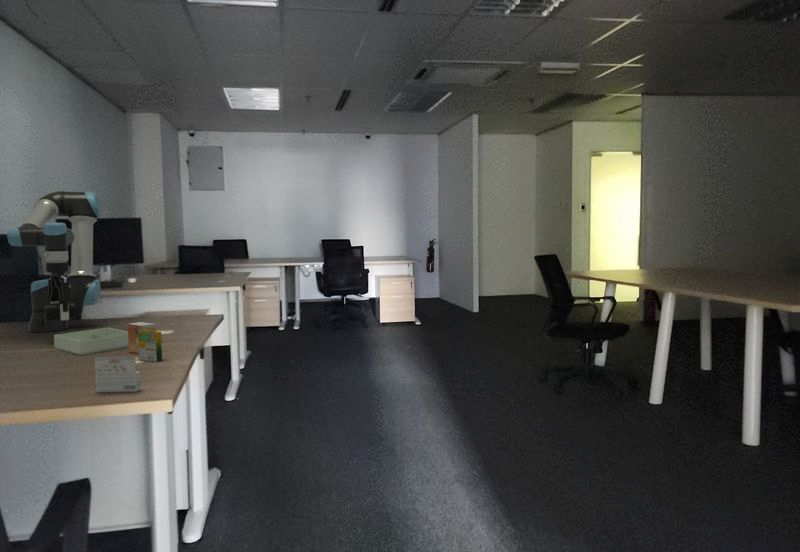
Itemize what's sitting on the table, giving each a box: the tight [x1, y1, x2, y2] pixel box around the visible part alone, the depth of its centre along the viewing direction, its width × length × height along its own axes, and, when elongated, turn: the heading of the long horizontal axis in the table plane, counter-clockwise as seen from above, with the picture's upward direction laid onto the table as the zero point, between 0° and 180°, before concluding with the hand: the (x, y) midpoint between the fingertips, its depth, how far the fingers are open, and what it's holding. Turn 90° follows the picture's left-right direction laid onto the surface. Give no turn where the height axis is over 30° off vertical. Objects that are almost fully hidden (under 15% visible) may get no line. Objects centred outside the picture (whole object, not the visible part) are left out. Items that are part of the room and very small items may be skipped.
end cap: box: [44, 302, 77, 321], centre depth 208 cm, size 10×7×7 cm
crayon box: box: [138, 326, 163, 362], centre depth 177 cm, size 7×3×12 cm, turn 74°
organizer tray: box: [53, 327, 129, 356], centre depth 199 cm, size 22×20×5 cm
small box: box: [127, 321, 156, 355], centre depth 190 cm, size 8×6×10 cm
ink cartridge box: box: [93, 355, 141, 393], centre depth 141 cm, size 2×11×10 cm, turn 92°
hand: (60, 318), depth 208 cm, fingers closed on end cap, 8 cm apart
